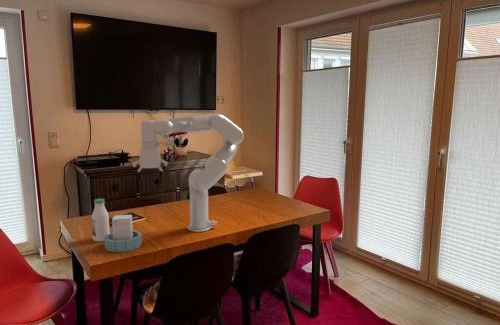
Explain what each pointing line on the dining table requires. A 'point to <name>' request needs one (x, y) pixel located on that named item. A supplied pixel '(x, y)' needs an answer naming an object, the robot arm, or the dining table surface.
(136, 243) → the bowl
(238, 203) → the dining table surface
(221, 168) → the robot arm
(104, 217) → the milk bottle
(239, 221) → the dining table surface
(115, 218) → the small box
